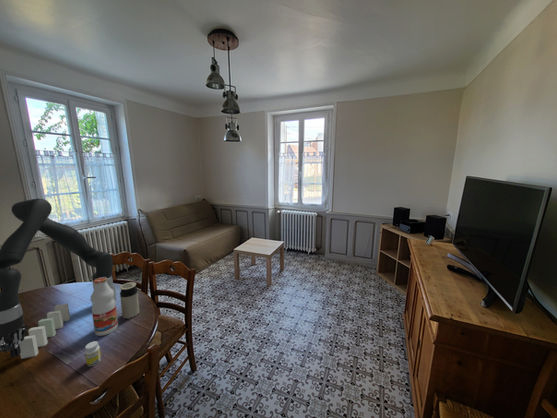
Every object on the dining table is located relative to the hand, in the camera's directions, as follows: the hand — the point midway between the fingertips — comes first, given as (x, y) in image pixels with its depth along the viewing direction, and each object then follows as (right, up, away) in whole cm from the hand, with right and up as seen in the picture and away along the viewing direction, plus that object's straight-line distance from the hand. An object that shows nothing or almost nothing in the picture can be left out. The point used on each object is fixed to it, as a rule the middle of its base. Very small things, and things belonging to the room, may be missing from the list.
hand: (16, 355), depth 87 cm
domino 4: (-8, -2, +23) cm, 25 cm away
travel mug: (+23, -1, +35) cm, 42 cm away
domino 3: (-6, -3, +18) cm, 19 cm away
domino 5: (-10, -1, +29) cm, 31 cm away
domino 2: (-4, -4, +12) cm, 14 cm away
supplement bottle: (+28, -6, +4) cm, 29 cm away
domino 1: (-2, -5, +7) cm, 9 cm away
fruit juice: (+19, -3, +23) cm, 30 cm away
